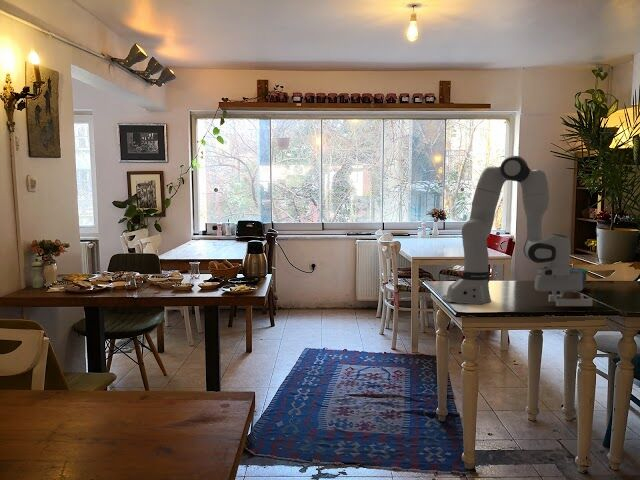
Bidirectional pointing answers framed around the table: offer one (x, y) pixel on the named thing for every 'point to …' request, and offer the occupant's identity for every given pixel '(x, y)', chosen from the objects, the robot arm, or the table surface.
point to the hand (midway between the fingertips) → (558, 300)
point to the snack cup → (582, 272)
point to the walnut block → (571, 295)
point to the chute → (571, 301)
